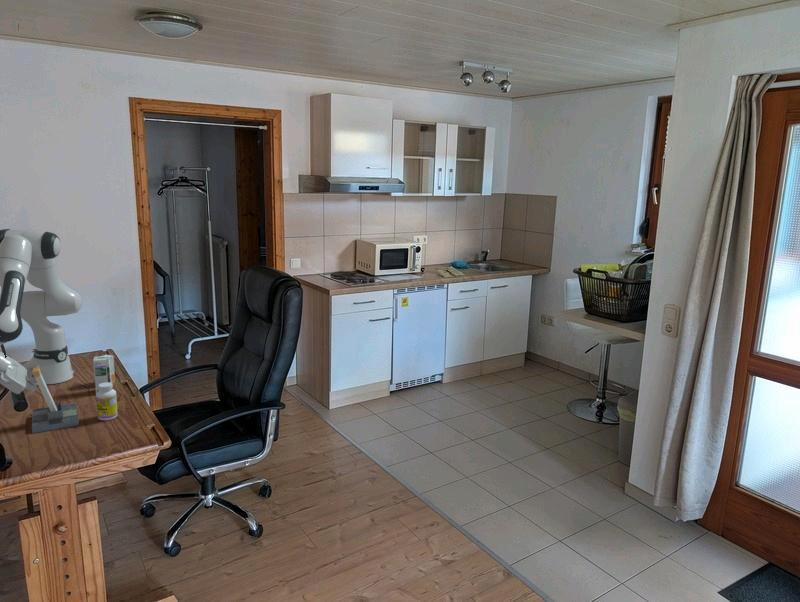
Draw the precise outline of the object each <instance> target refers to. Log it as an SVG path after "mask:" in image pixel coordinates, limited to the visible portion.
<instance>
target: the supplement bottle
mask: <svg viewBox="0 0 800 602" xmlns="http://www.w3.org/2000/svg"><path fill="white" fill-rule="evenodd" d="M98 389H99V391H98V392H97V393H96V392H95V400H96V415H97V419H98V420H100V421H111V420H113V419H116V418H117V417H118V400H117V399H118V398H117V391H116V390H115V389H114V383H110V382H106V383H101V384H99V385H98Z"/></svg>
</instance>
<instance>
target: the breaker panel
mask: <svg viewBox="0 0 800 602" xmlns="http://www.w3.org/2000/svg"><path fill="white" fill-rule="evenodd" d="M54 403H55V405H56V407H57V411H53V412H51V411H50V409H49V407H48V406H47V407H48V409H45V410H38V411H33V410H32V415H31V417H32V418H31V432H32V434H36V433H41V432H48V431H54V430H60V429H66V428H72V427H77V426H80V421H79V414H78V406H77V404H76V405H71V406H64V407H61V405H62V404H61V403H62V401H56V402H55V401H54Z"/></svg>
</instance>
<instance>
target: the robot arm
mask: <svg viewBox="0 0 800 602" xmlns="http://www.w3.org/2000/svg"><path fill="white" fill-rule="evenodd" d="M60 251H61V240H60V238H59V236H58V235H57V234H56V233H54V232H50V231H42V230H37V229H10V228H4V229H0V288H1V289H0V336H1V337H0V346H2V344H3V345H5V344H6V343H8V342H12V341H14V340H16V339H18V338H19V337H20V335H21V334H22V332H23V329H24V327H23V326H24V325H23V321H24V322H25V323H27V325H28V326H29V327H30V329H31V331H32V333H33V334H32V335H33V337H34V344H35V345H34V346H35V348H33V349H32V350H31V353H33V356H32V358H30V359H29V360H28V361H27V362H25V363H24V364H23V365H22V364H21V363H20V362H18V361H17V360H15V359H13V358H12V355H11V354H9V353H8V352H7V353H6V352H5V353H6V356H7V357H6V358H5V355H4V352H2V351H1V350H0V385H2V386H3V387H4V388H6V389H7V390H9V391H11V392H12V393H14V394H16V395H20V394H21V393H22V392H23V391H24V390H26V391H30V392H31V393H35V392H36V391H37V389H38V387H37V386H39V385H38V383H37V381H36V379H35V377H34V375H33V373H32V372H33V368H36V367H39V369H40V371H41V374H42V377H43V379H44V381H45V383H46V385H54V384H60V383H65V382H67V381H70V380H71V379H73V378H74V375H73V374H75V372H74V370H73V369H72V364H71V360H70V356H69V355H68V354H69V352H68V351H69V350H68V346H67V342H66V332H65V328H64V327H63V326H61V325H59V324H57V323H54V322H51V320H49V319H48V318H47V317H57V316H58V317H59V316H68V315H72V314H77V313H78V312H79V311H80V310H81V308H82V305H83V300H82V296H81V295H80V293H78V291H76V290H74V289H72V288H70V287H69V286H67V285H66V284H65V283H64V282H63V281H62V279H61V277H60V275H59V271H58V266H57V257H58V256H59V254H60ZM26 281H27V282H28V283H29V285H31V286H32V287H34V288H38V289H40V290H27V291H25V285H26Z"/></svg>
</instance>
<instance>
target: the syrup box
mask: <svg viewBox="0 0 800 602" xmlns="http://www.w3.org/2000/svg"><path fill="white" fill-rule="evenodd" d="M92 363H93V364H92V365H93V373H94V383H95V385H94V386H95V394H96V393H97V392H98V391H99V389H98V385H99V384H101V383H106V382H110V383H111V369H110V356H103V355H101V356H94V357H93V361H92Z"/></svg>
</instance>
